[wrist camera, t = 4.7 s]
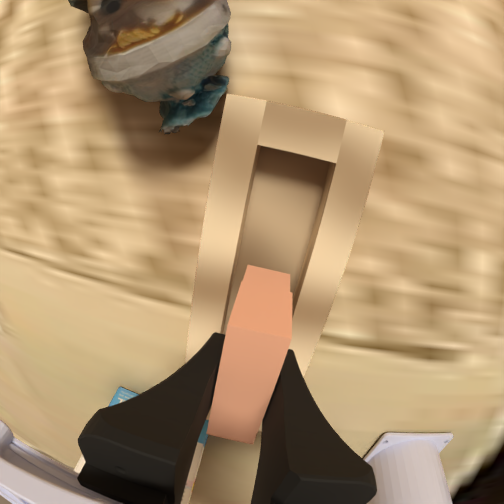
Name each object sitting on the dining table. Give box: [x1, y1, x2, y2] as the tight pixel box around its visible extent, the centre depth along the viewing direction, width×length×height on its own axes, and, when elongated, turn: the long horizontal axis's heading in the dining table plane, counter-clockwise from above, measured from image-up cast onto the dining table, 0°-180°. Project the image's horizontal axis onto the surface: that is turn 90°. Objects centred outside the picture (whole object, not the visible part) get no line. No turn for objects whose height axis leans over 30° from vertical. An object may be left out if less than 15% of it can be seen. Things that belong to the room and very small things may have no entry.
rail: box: [185, 94, 384, 432], centre depth 18 cm, size 20×7×2 cm, turn 169°
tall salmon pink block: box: [206, 265, 292, 444], centre depth 13 cm, size 6×2×6 cm, turn 169°
